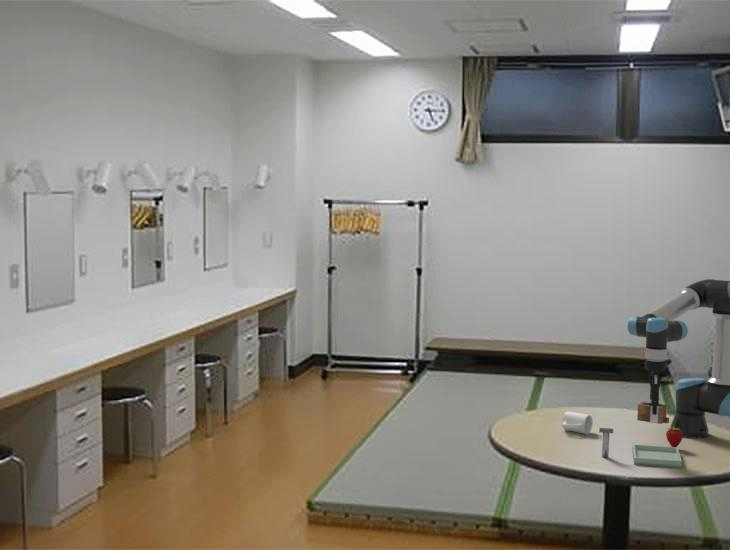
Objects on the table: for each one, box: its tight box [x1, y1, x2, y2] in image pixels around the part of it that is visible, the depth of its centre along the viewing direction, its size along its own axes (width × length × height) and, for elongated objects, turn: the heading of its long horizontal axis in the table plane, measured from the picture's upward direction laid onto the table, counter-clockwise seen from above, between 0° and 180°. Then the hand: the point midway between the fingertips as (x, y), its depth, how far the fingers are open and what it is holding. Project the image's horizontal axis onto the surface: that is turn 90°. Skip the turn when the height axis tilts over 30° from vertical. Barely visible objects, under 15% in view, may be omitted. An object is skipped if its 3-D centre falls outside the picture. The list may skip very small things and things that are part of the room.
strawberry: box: [665, 424, 684, 448], centre depth 366 cm, size 6×8×10 cm
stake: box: [598, 427, 614, 459], centre depth 353 cm, size 5×2×11 cm, turn 76°
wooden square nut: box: [636, 401, 670, 425], centre depth 351 cm, size 11×6×6 cm, turn 57°
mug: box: [561, 411, 594, 435], centre depth 389 cm, size 12×10×8 cm
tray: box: [631, 443, 683, 469], centre depth 352 cm, size 17×20×2 cm
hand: (653, 420), depth 351 cm, fingers closed on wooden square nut, 7 cm apart
